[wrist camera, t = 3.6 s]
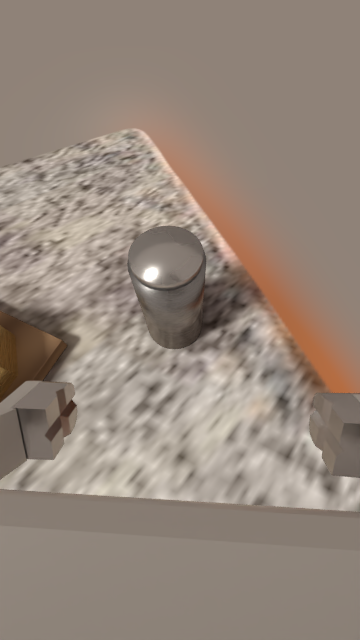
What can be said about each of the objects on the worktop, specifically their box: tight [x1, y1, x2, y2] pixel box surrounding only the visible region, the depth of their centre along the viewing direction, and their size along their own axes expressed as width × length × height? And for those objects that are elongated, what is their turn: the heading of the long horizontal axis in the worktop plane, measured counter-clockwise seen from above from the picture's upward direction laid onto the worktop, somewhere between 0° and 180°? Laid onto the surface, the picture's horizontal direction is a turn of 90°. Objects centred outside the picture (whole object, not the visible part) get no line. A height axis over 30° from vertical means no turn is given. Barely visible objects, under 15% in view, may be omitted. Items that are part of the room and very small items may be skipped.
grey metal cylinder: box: [128, 226, 206, 349], centre depth 21 cm, size 5×5×10 cm
